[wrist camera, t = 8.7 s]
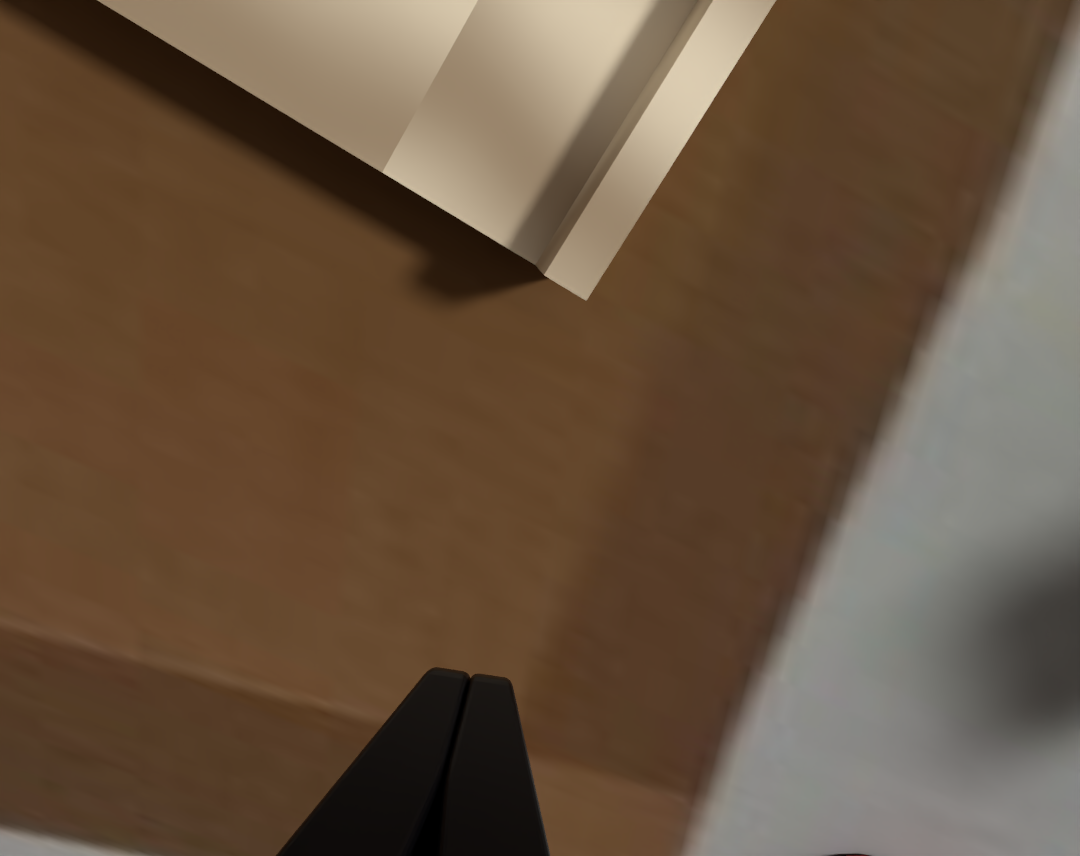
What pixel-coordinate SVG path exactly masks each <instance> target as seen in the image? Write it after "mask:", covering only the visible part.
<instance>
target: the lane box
mask: <svg viewBox="0 0 1080 856" xmlns="http://www.w3.org/2000/svg"><path fill="white" fill-rule="evenodd" d="M97 1H99V2H101V3H102V4H104V5H106V6H107V7H109V8H111V9H112V10H114V11H116V12H117V13H119V14H121V15H122V16H124V17H126V18H127V19H129V20H131V21H132V22H134V23H135V24H137V25H139V26H140V27H142V28H144V29H145V30H147V31H149V32H150V33H152V34H154V35H155V36H157V37H159V38H160V39H162V40H164V41H165V42H167V43H169V44H170V45H172V46H174V47H175V48H177V49H178V50H180V51H182V52H183V53H185V54H187V55H188V56H190V57H192V58H193V59H195V60H197V61H198V62H200V63H202V64H203V65H205V66H207V67H208V68H210V69H212V70H213V71H215V72H217V73H218V74H220V75H222V76H223V77H225V78H226V79H228V80H230V81H231V82H233V83H235V84H236V85H238V86H240V87H241V88H243V89H245V90H246V91H248V92H250V93H251V94H253V95H255V96H256V97H258V98H260V99H261V100H263V101H265V102H266V103H268V104H269V105H271V106H273V107H274V108H276V109H278V110H279V111H281V112H283V113H284V114H286V115H288V116H289V117H291V118H293V119H294V120H296V121H298V122H299V123H301V124H303V125H304V126H306V127H308V128H309V129H311V130H313V131H314V132H316V133H317V134H319V135H321V136H322V137H324V138H326V139H327V140H329V141H331V142H332V143H334V144H336V145H337V146H339V147H341V148H342V149H344V150H346V151H347V152H349V153H351V154H352V155H354V156H356V157H357V158H359V159H360V160H362V161H364V162H365V163H367V164H369V165H370V166H372V167H374V168H375V169H377V170H379V171H380V172H382V173H384V174H385V175H387V176H389V177H390V178H392V179H394V180H395V181H397V182H399V183H400V184H402V185H404V186H405V187H407V188H408V189H410V190H412V191H413V192H415V193H417V194H418V195H420V196H422V197H423V198H425V199H427V200H428V201H430V202H432V203H433V204H435V205H437V206H438V207H440V208H442V209H443V210H445V211H447V212H448V213H450V214H452V215H453V216H455V217H456V218H458V219H460V220H461V221H463V222H465V223H466V224H468V225H470V226H471V227H473V228H475V229H476V230H478V231H480V232H481V233H483V234H485V235H486V236H488V237H490V238H491V239H493V240H495V241H496V242H498V243H499V244H501V245H503V246H504V247H506V248H508V249H509V250H511V251H513V252H514V253H516V254H518V255H519V256H521V257H523V258H524V259H526V260H528V261H529V262H531V263H533V264H534V265H536V266H537V268H538V269H539V270H540V271H541V272H542V273H543V275H544V276H546V277H548V278H549V279H551V280H553V281H554V282H556V283H558V284H559V285H561V286H563V287H564V288H566V289H568V290H569V291H571V292H573V293H574V294H576V295H578V296H579V297H581V298H583V299H584V300H587V299H588V297H589V296H590V294H591V292H592V291H593V289H594V288H595V286H596V285H597V283H598V281H599V280H600V278H601V277H602V275H603V273H604V272H605V270H606V269H607V267H608V266H609V264H610V262H611V261H612V259H613V258H614V256H615V254H616V253H617V251H618V250H619V248H620V247H621V245H622V243H623V242H624V240H625V239H626V237H627V235H628V234H629V232H630V231H631V229H632V228H633V226H634V224H635V223H636V221H637V220H638V218H639V216H640V215H641V213H642V212H643V210H644V209H645V207H646V205H647V204H648V202H649V201H650V199H651V197H652V196H653V194H654V193H655V191H656V190H657V188H658V186H659V185H660V183H661V182H662V180H663V178H664V177H665V175H666V174H667V172H668V171H669V169H670V167H671V166H672V164H673V163H674V161H675V159H676V158H677V156H678V155H679V153H680V152H681V150H682V148H683V147H684V145H685V144H686V142H687V140H688V139H689V137H690V136H691V134H692V133H693V131H694V129H695V128H696V126H697V125H698V123H699V121H700V120H701V118H702V117H703V115H704V113H705V112H706V110H707V109H708V107H709V106H710V104H711V102H712V101H713V99H714V98H715V96H716V94H717V93H718V91H719V90H720V88H721V87H722V85H723V83H724V82H725V80H726V79H727V77H728V75H729V74H730V72H731V71H732V69H733V68H734V66H735V64H736V63H737V61H738V60H739V58H740V56H741V55H742V53H743V52H744V50H745V49H746V47H747V45H748V44H749V42H750V41H751V39H752V37H753V36H754V34H755V33H756V31H757V30H758V28H759V26H760V25H761V23H762V22H763V20H764V18H765V17H766V15H767V14H768V12H769V11H770V9H771V7H772V6H773V4H774V3H775V1H776V0H97Z"/></svg>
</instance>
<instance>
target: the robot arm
mask: <svg viewBox="0 0 1080 856" xmlns="http://www.w3.org/2000/svg"><path fill="white" fill-rule="evenodd" d="M276 856H550V852H549V848H548V843H547V839H546V834H545V830H544V825H543V821H542V816H541V812H540V807H539V803H538V798H537V794H536V789H535V785H534V780H533V776H532V771H531V767H530V762H529V758H528V753H527V749H526V744H525V740H524V735H523V731H522V726H521V722H520V717H519V713H518V708H517V704H516V699H515V695H514V690H513V686H512V683H511V682H510V680H509V679H507V678H505V677H498V676H491V675H485V674H475V675H473V676H472V677H471V678H470V677H469V675H468V674H467V673H466V672H464V671H458V670H451V669H445V668H438V667H435V668H432V669H430V670H429V671H427V672H426V673H425V674H424V676H423V677H422V678H421V679H420V680H419V682H418V683H417V684H416V685H415V687H414V688H413V689H412V690H411V691H410V693H409V694H408V695H407V696H406V697H405V699H404V700H403V701H402V702H401V704H400V705H399V706H398V707H397V708H396V710H395V711H394V712H393V713H392V715H391V716H390V717H389V718H388V719H387V721H386V722H385V723H384V724H383V726H382V727H381V728H380V729H379V730H378V732H377V733H376V734H375V735H374V737H373V738H372V739H371V740H370V741H369V743H368V744H367V745H366V746H365V748H364V749H363V750H362V751H361V752H360V754H359V755H358V756H357V757H356V759H355V760H354V761H353V762H352V763H351V765H350V766H349V767H348V768H347V770H346V771H345V772H344V773H343V774H342V776H341V777H340V778H339V779H338V780H337V782H336V783H335V784H334V785H333V787H332V788H331V789H330V790H329V791H328V793H327V794H326V795H325V796H324V798H323V799H322V800H321V801H320V802H319V804H318V805H317V806H316V807H315V809H314V810H313V811H312V812H311V813H310V815H309V816H308V817H307V818H306V820H305V821H304V822H303V823H302V824H301V826H300V827H299V828H298V829H297V831H296V832H295V833H294V834H293V835H292V837H291V838H290V839H289V840H288V842H287V843H286V844H285V845H284V846H283V848H282V849H281V850H280V851H279V852H278V854H277V855H276Z"/></svg>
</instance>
